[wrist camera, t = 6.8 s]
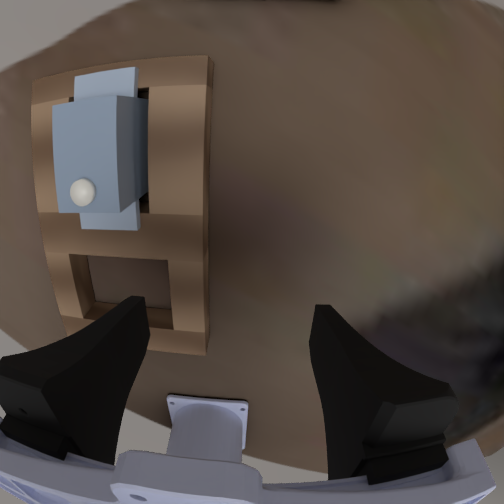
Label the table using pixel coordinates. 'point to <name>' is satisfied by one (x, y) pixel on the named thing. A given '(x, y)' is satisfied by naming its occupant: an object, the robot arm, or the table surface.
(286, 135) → the table surface
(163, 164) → the frame
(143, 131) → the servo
